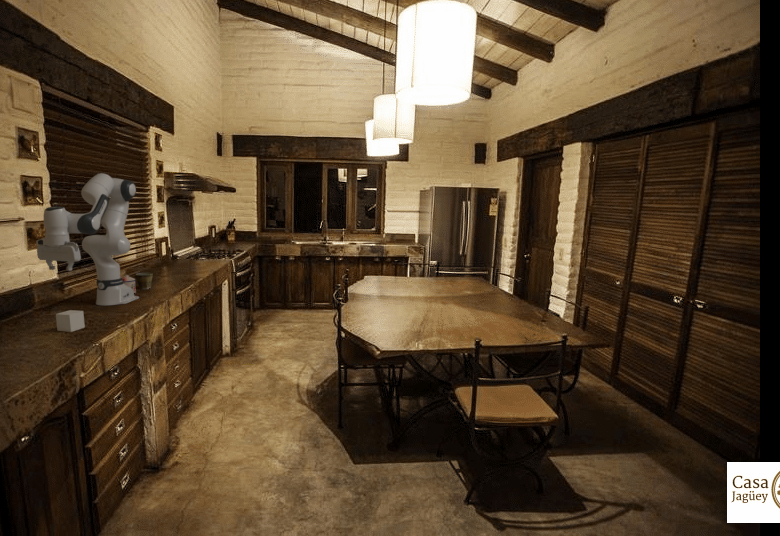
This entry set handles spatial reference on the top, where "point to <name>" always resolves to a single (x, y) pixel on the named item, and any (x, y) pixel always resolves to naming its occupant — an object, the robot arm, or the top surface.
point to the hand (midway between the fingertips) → (60, 270)
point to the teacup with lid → (130, 283)
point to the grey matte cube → (70, 320)
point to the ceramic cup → (144, 280)
